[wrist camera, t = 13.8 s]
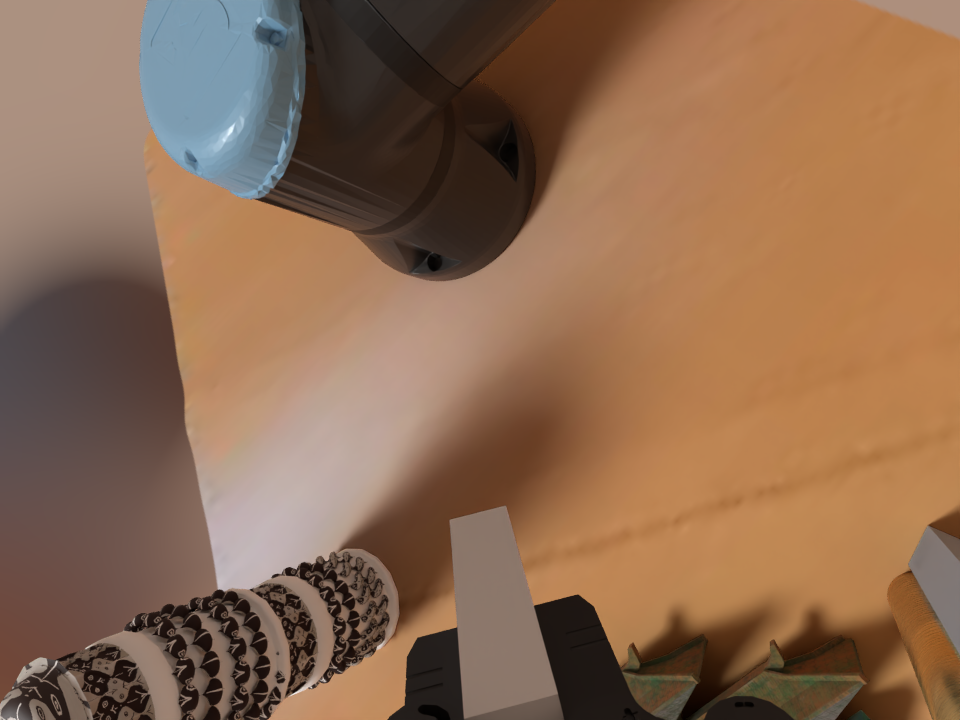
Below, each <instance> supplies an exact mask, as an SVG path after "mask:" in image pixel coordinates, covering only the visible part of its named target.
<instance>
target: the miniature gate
mask: <svg viewBox="0 0 960 720" xmlns="http://www.w3.org/2000/svg"><path fill="white" fill-rule="evenodd" d="M707 642H708V640H707V639H706V638H705V636H704V635H703V634H702V635H700V636H699V637H697V638H695V639H694V640H692V641H690V642H688V643H686V644H685V645H683V646H681V647H679V648H678V649H676V650H674V651H672V652H670V653H669V654H667V655H664V656H661V657H658V658H655V659H652V660H648V661H645V662H642V663H641V657H640V655H639V653H638V651H637V649H636V647H635V645H634V643H632V644H631V645H630V646H629V648H628V654H629V661H628V662H627V664H625V665H624V666H622V667H621V668H620V669H621V671H622V673H623V676H624V678H625V680H626V682H627V685H628V687H629V689H630V692H631V694H632V696H633V697H634V699H635V700H636V702H637V703H638V704H639V705H640V706H641V707H642V708H643V709H644V710H646V711H647V712H649V713H651V714H652V715H654V716H656V717H659V718H662V719H665V720H683V719H682V718H681V711H682V710H683V708H684V706H685V704H686V702H687V701H688V699H689V697H690V695H691V694H692V692H693V690H694V688H695V686H696V685H697V684H699V682H700V681H701V680H700V679H699V677H700V672H701V667H702V663H703V658H704V653H705V648H706V643H707ZM770 651H771V655H770V657H769V659H768V660H767V662H766V663H763V664H761V665H760V666H759V667H757V668H756V669H755V670H753V671H752V672H750V673H749V674H748V675H746V676H745V677H743V678H742V679H741V680H739V681H738V682H737V683H735V684H734V685H732V686H731V687H730V688H728V689H727V690H725V691H724V692H723V693H721V694H720V695H718V696H717V697H716V698H714V699H713V700H712V701H710V702H709V703H707V704H706V705H705V706H703V707H702V708H700V709H699V710H698V711H696V712H695V713H694V714H692V715H691V716H689V717H688V718H687V719H685V720H704V718H705V716H706V714H707V711H708V710H709V709H710V708H711V707H712V706H713V705H715V704H716V703H717V702H718V701H720V700H723V699H726V698H730V697H733V696H753V697H757V698H760V699H763V700H767V701H770V702H772V703H773V704H775V705H776V706H778V707H779V708H781V709H782V710H784V711H785V712H786V713H788V714H789V715H790V716H791V717H792V718H793V719H794V720H835V719H836V718H837V717H838V715H839V714H840V713H841V712H842V711H843V709H844V708H845V707H846V706H847V704H848V703H849V702H850V701H851V699H852V698H853V697H854V696H855V695H856V693H857V692H858V691H859V690H860V688H861V687H862V686H863V685H864V684H868V682H869V680H868V679H867V678H866V677H865V676H864V673H863V670H862V667H861V663H860V660H859V657H858V653H857V650H856V646H855V643H854V641H853V640H852V639H847V640H845V639H844V638H843V637H842V635H840V636H838V637H836V638H834V639H832V640H830V641H828V642H827V643H825V644H823V645H822V646H820V647H818V648H817V649H815V650H813V651H811V652H810V653H806V654H803V655H800V656H797V657H794V658H791V659H788V660H784V657H783V655H782V653H781V651H780V649H779V647H778V646H777V644H776V642H775V640H774V639H773V640H772V641H771V642H770ZM846 720H871V719H870V718H869V717H868V716H867V715H866V714H865V713H864V712H863V711H862V710H860V711H858V712H857V713H855V714H854V715H852V716H851V717H849V718H848V719H846Z"/></svg>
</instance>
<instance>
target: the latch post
mask: <svg viewBox="0 0 960 720" xmlns="http://www.w3.org/2000/svg"><path fill="white" fill-rule="evenodd" d="M887 597H888V602H889V605H890V608H891V611H892V613H893V616H894V619H895V621H896V624H897V627H898V629H899V632H900V634H901V637H902V640H903V642H904V645H905V648H906V650H907V653H908V656H909V658H910V661H911V664H912V666H913V669H914V671H915V674H916V677H917V679H918V682H919V685H920V687H921V690H922V693H923V695H924V698H925V701H926V703H927V706H928V709H929V711H930V714H931V716H932V719H933V720H960V655H959V653H958V651H957V649H956V648H955V646H954V644H953V642H952V641H951V639H950V637H949V635H948V634H947V632H946V630H945V628H944V627H943V625H942V623H941V621H940V620H939V618H938V616H937V614H936V612H935V611H934V609H933V607H932V605H931V604H930V602H929V600H928V598H927V597H926V595H925V593H924V591H923V590H922V588H921V586H920V584H919V583H918V581H917V579H916V577H915V576H914V574H913V572H908V573H904V574H902V575H900V576H898V577H897V578H895V579H894V580H893V581H892V583H891V584H890V586H889V588H888V594H887Z"/></svg>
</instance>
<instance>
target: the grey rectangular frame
mask: <svg viewBox="0 0 960 720" xmlns="http://www.w3.org/2000/svg"><path fill="white" fill-rule="evenodd" d="M908 565H909V567H910V569H911V570H912V572H913V574H914V576H915V577H916V579H917V581H918V583H919V584H920V586H921V588H922V590H923V591H924V593H925V595H926V597H927V598H928V600H929V602H930V604H931V605H932V607H933V609H934V611H935V612H936V614H937V616H938V618H939V620H940V621H941V623H942V625H943V627H944V628H945V630H946V632H947V634H948V635H949V637H950V639H951V641H952V642H953V644H954V646H955V648H956V649H957V651H958V653H959V655H960V539H958V538H956V537H954V536H951V535H949V534H947V533H944V532H942V531H940V530H937V529H935V528H933V527H931V526H927V528H926V530H925V532H924V534H923V536H922V538H921V540H920V542H919V544H918V546H917V548H916V550H915V552H914V554H913V556H912V558H911V560H910V562H909V564H908Z"/></svg>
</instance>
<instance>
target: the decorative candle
mask: <svg viewBox="0 0 960 720" xmlns="http://www.w3.org/2000/svg"><path fill="white" fill-rule="evenodd" d="M329 557H330V558H329V560H328V561H325V560H324V559H323V557H322V556H319V557H317V559H316V563H314V564H312V565H311V564H310V563H305V562H303V563H301V564H300V565H299V566H298V568H297V570H296V569H293V568H291V567H288V568H286V569H285V570H284V571H283V572H282V575H281V574H275V575H273V576H272V577H271V579H270V580H267V581H265V582H263V583H261V584H259V585H257V586H255V587H254V588H253V589H249V590H246V589H234V588H232V589H229V590H227V591H225V592H224V591H223V590H217V591H215V592H214V593H213V594H212V596H211V597H210V596H209V597H205V598H202V599H201V598H194V599H192V600H191V601H190V602H189V603H188V605H178V606H176V607H174V606H173V605H172V604H167V605H165V606H164V607H163V608H162V609H161V611H160V612H159V611H158V612H153V613H149V614H145V613H141V614H139V615H137V616H136V617H135V618H134V619H133V621H132V622H130V623H128V624H127V625H126V627H125V628H124V631H123V632H120V633H117V634H115V635H112V636H109V637H106V638H103V639H101V640H99V641H97V642H96V643H94V644H92V645H90V646H88V647H87V648H85V650H82V651H77V652H75V653H71V654H69V655H66V656H64V657H62V658H59V659H57V660H50V659H45V658H38V659H36V660H34V661H33V662H31V663H29V664H28V665H26V666H24V668H23V669H22V671H21V673H20V675H19V676H18V678H17V680H16V682H15V683H14V685H13V688H12V690H11V691H10V692H9V693H8V694H7V695H6V696H5V698H4V699H3V700H2V702H1V704H0V720H267V719H269V718H270V716H271V715H272V714H273V713H274V711H275V710H276V709H277V707H278V706H279V705H280V703H281V702H282V701H283V699H285V698H287V697H289V696H291V695H294V694H296V693H299V692H301V691H303V690H305V689H307V688H309V689H314V688H316V687H317V686H318V684H319V682H321V683H328V682H329V681H330V679H331V677H332V676H333V674H334V672H335V673H336V674H342V673H343V672H344V671H345V670H346V669H348V668H349V667H350V666H351V665H352V666H353V665H358V664H359V663H360V662H361V661H362V660H363V658H364V657H370V656H372V655H373V654H374V653H375V651H376V650H378V649H380V648H382V647H384V646H385V644H386V643H387V642H388V641H389V639H390V638H391V637H392V635H393V634H394V633H395V629H396V625H397V622H398V618H399V614H400V613H399V598H398V591H397V588H396V586H395V583H394V581H393V578H392V576H391V573H390V572H389V570H388V569H387V568H386V567H385V566H384V564H383V563H382V562H381V561H380V560H379V558H378V557H376V556H374V555H372V554H371V553H369V552H367V551H365V550H363V549H344V550H342V551H340V552H338V553H337V554H336V553H335V552H331V553H330V556H329ZM196 609H198V610H196ZM195 610H196V611H195ZM170 615H171V616H170ZM168 616H170V618H169V619H172V620H168V618H167V617H168ZM141 626H142V627H141ZM143 627H148V628H146V629H145V630H143V629H144V628H143Z"/></svg>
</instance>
